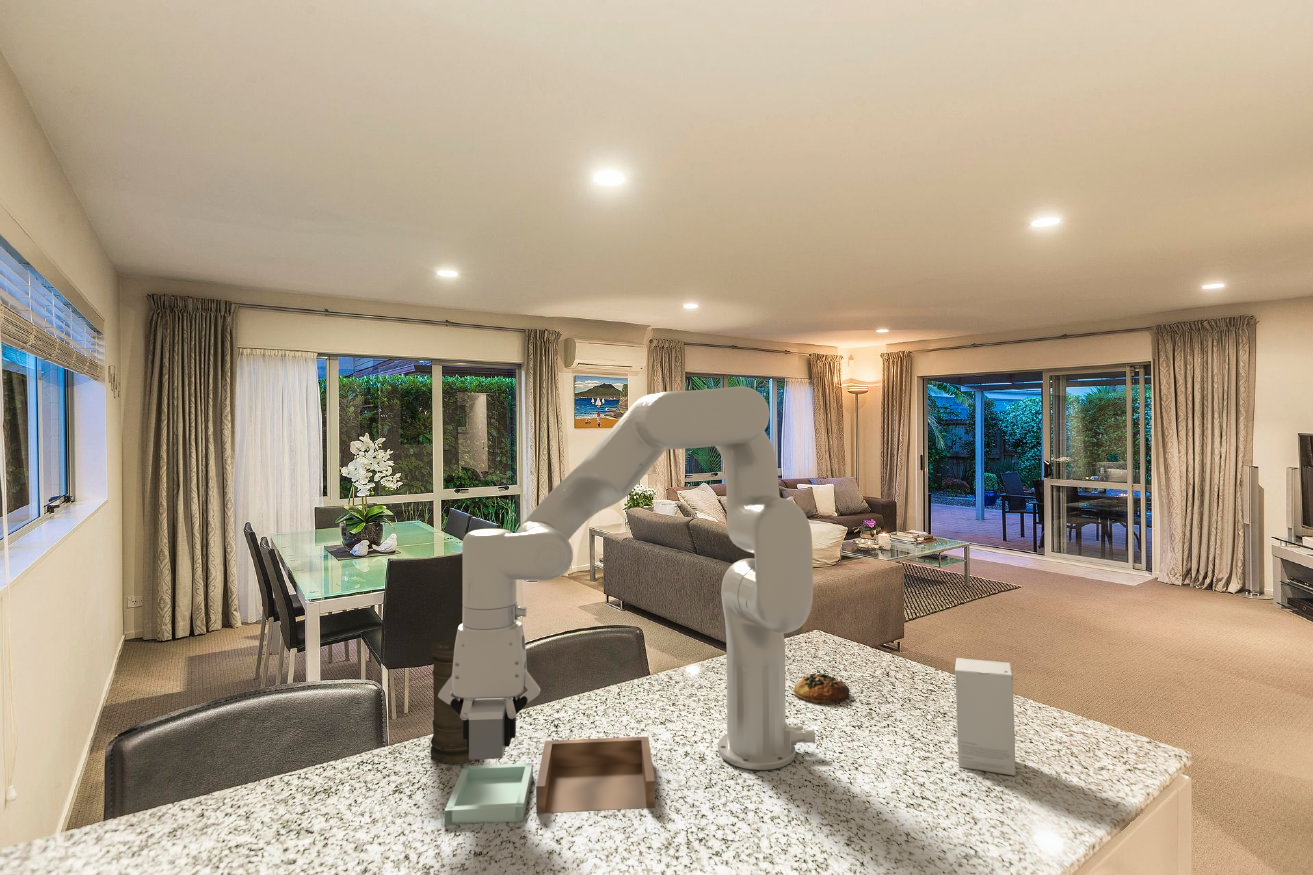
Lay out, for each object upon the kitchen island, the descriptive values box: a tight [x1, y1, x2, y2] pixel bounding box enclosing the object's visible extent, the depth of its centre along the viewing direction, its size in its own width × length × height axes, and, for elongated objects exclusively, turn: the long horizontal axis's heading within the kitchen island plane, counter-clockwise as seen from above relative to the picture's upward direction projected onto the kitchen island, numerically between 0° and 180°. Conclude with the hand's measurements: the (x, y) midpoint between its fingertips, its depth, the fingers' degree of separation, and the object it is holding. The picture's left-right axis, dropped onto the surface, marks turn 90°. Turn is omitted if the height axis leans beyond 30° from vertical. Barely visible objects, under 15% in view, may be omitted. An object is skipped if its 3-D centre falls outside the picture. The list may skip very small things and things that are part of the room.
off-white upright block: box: [469, 698, 507, 761], centre depth 99 cm, size 5×7×6 cm, turn 4°
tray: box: [444, 762, 534, 827], centre depth 99 cm, size 10×12×2 cm
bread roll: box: [792, 672, 850, 705], centre depth 138 cm, size 11×11×5 cm
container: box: [429, 637, 473, 765], centre depth 114 cm, size 9×9×18 cm
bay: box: [535, 736, 656, 815], centre depth 102 cm, size 16×14×4 cm
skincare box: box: [954, 657, 1017, 776], centre depth 108 cm, size 8×7×16 cm
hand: (489, 741), depth 99 cm, fingers closed on off-white upright block, 4 cm apart
